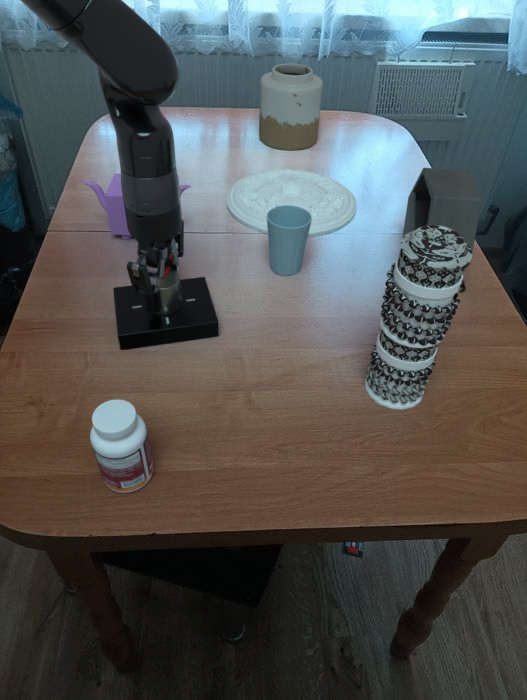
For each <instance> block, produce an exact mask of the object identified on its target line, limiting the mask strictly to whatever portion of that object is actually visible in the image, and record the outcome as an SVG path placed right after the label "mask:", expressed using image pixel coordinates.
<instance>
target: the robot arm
mask: <svg viewBox="0 0 527 700" xmlns="http://www.w3.org/2000/svg"><path fill="white" fill-rule="evenodd" d="M19 1H20V2H21V3H22V4H23V5H25V6H26V7H27V8H28V9H29V10H30V11H31V12H32V13H33V14H34V15H35V16H36V17H38V18H39V20H41V21H42V22H43V23H44V24H45V25H46V26H48V27H49V29H51V30H52V31H53V33H55V34H56V35H58V36H59V37H61V39H63V40H64V41H66V42H67V43H68V44H70V45H72V46H73V47H75V48H76V49H78V50H79V51H80V52H82V53H83V54H85V55H86V56H87V57H88V58H89V59H90V60H91V61H92V62H93V63H94V64H95V65H96V73H97V78H98V82H99V86H100V89H101V92H102V96H103V99H104V102H105V105H106V108H107V111H108V114H109V118H110V121H111V122H112V125H113V128H114V131H115V136H116V147H117V153H118V154H117V155H118V160H119V167H120V174H121V188H122V195H123V201H124V208H125V215H126V221H127V228H128V231H129V233H130V234H131V235H132V238H133V239H135V241H136V242H137V252H136V254H137V258H136V260H135V261H131V260H130V261H128V262H127V264H126V270H127V274H128V277H129V280H130V284H131V285H132V288H133V291H134V294H136V295H142V296H145V304H146V308H147V309H148V310H151V311H155V312H159V311H160V310H161V299H160V291H159V284H160V278H162V277H163V276H164V267H167V266H169V267H171V269H173V270H175V271H177V272H178V267H179V266H180V258H183V256H184V251H185V247H184V246H185V245H184V243H185V222H184V220H183V219H182V218H183V217H182V204H181V202H182V201H181V196H180V188H179V186H180V180H179V175H178V170H177V162H176V161H177V160H176V149H175V148H176V147H175V137H174V131H173V128H172V127H173V126H172V124H171V123H170V122H169V120H168V119H167V117H165V115H164V114H163V112H162V111H161V108H160V105H162V104H165V103H166V102H168V101H169V100H170V99H172V98H173V96H174V95H175V93H176V91H177V89H178V86H179V83H180V66H179V62H178V60H177V59H178V58H177V57H176V55H175V52H174V51H173V49H172V48H171V46H170V45H169V44H168V42H167V41H166V40H165V39H164V37H162V35H160V34H159V32H157V31H156V29H154V28H153V27H152V26H151V25H150V24H149V23H148V22H147V21H146V20H145V19H144V18H142V16H141V15H139V14H138V13H137V12H136V11H135V10H134V9H132V7H131V6H129V5H128V4H127V3H126V2H124V1H123V0H19ZM176 244H177V245H176ZM150 268H151V269H154V268H157V271H152V270H151V269H150ZM150 277H151V278H153V285H152V284H151V281H150Z"/></svg>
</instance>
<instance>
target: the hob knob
mask: <svg viewBox="0 0 527 700" xmlns="http://www.w3.org/2000/svg"><path fill="white" fill-rule="evenodd" d="M150 270H152V271H157V268H151V269H150ZM180 280H181V276H180V274H179V272H178V270H177V271H175V270H173V269H171V267H169V266H167V267H164V276H163V277H162V278H160V284H159V291H160V299H161V310H160V311H159V312H155V311H151V310H149V311H150V312H151V313H154V314H157V315H168V314H172V313H174V312H176V311H178V310H179V309H180V307H181V306H182V296H181V284H180ZM150 281H151V284H152V285H153V278H151V277H150Z"/></svg>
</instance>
